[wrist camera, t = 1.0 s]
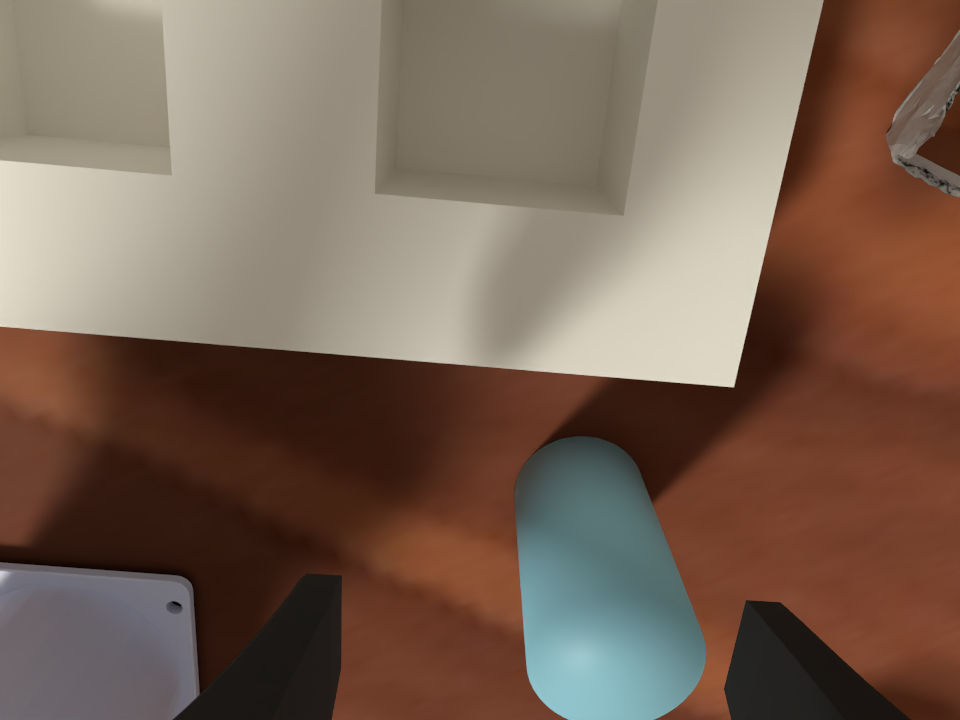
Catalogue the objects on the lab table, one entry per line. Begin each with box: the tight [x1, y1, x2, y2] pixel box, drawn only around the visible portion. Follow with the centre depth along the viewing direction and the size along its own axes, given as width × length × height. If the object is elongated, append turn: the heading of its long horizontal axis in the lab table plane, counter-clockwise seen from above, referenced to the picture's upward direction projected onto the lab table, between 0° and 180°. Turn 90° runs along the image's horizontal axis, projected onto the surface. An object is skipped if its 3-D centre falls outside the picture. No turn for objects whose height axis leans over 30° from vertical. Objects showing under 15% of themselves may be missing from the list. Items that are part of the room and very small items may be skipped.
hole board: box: [0, 0, 824, 387], centre depth 16 cm, size 12×20×5 cm, turn 85°
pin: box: [514, 436, 706, 720], centre depth 20 cm, size 4×4×7 cm
